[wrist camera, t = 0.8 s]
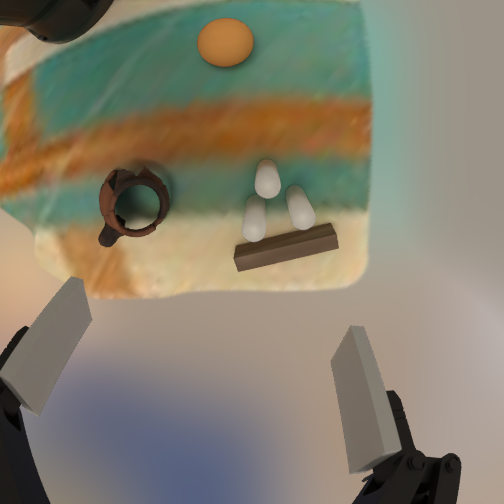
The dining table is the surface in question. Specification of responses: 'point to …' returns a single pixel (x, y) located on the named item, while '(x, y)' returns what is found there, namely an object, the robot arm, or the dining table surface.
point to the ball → (225, 42)
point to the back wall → (285, 247)
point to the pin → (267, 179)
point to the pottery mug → (109, 197)
